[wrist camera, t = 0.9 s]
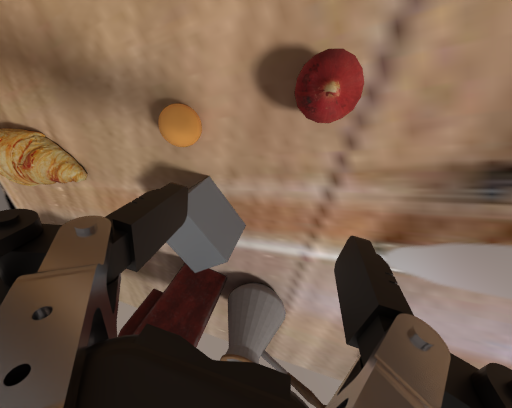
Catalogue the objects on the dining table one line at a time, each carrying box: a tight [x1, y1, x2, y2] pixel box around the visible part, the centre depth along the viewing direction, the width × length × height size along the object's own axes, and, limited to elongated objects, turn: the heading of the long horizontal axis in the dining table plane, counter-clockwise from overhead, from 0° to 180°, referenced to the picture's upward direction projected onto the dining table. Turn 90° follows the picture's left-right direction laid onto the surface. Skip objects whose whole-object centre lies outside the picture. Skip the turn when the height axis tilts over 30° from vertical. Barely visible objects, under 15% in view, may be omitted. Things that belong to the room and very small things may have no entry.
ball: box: [158, 104, 202, 147], centre depth 25 cm, size 5×5×5 cm
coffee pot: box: [220, 283, 327, 408], centre depth 35 cm, size 21×12×15 cm, turn 82°
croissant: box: [0, 128, 87, 186], centre depth 35 cm, size 21×10×8 cm, turn 76°
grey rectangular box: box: [167, 176, 246, 273], centre depth 30 cm, size 6×10×8 cm, turn 34°
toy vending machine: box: [118, 263, 227, 347], centre depth 32 cm, size 9×11×28 cm
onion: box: [295, 49, 364, 123], centre depth 18 cm, size 6×6×8 cm
